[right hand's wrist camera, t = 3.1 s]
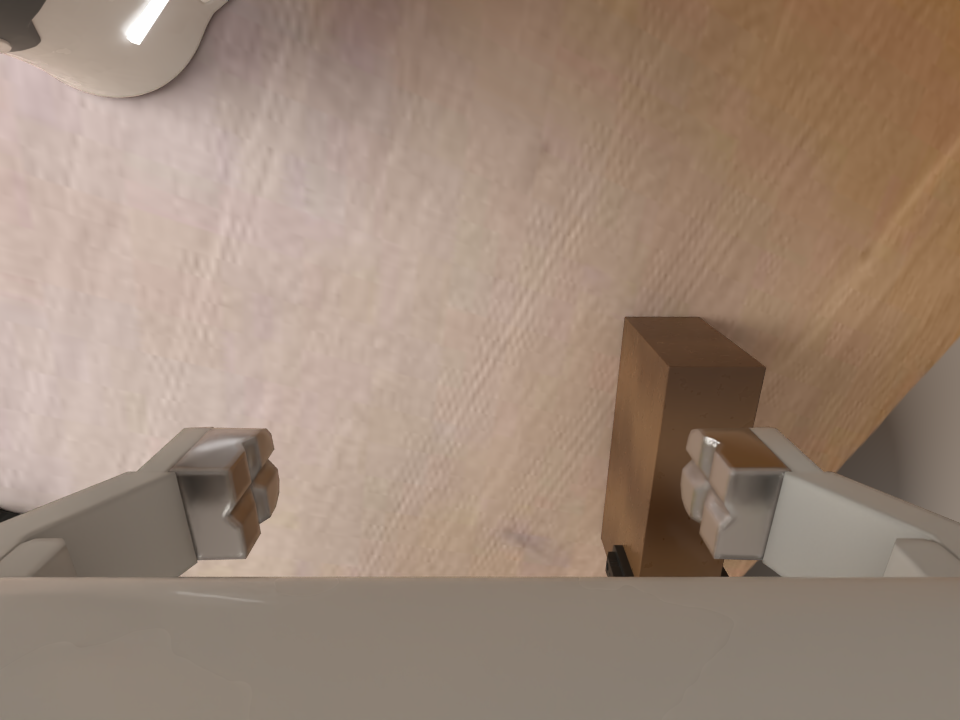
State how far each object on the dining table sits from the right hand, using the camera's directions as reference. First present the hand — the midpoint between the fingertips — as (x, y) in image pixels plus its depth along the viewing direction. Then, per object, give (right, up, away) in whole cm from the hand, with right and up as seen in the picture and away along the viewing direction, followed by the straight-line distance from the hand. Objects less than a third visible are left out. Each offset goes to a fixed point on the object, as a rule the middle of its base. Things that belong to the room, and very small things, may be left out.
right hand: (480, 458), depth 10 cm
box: (+14, -5, +34) cm, 37 cm away
